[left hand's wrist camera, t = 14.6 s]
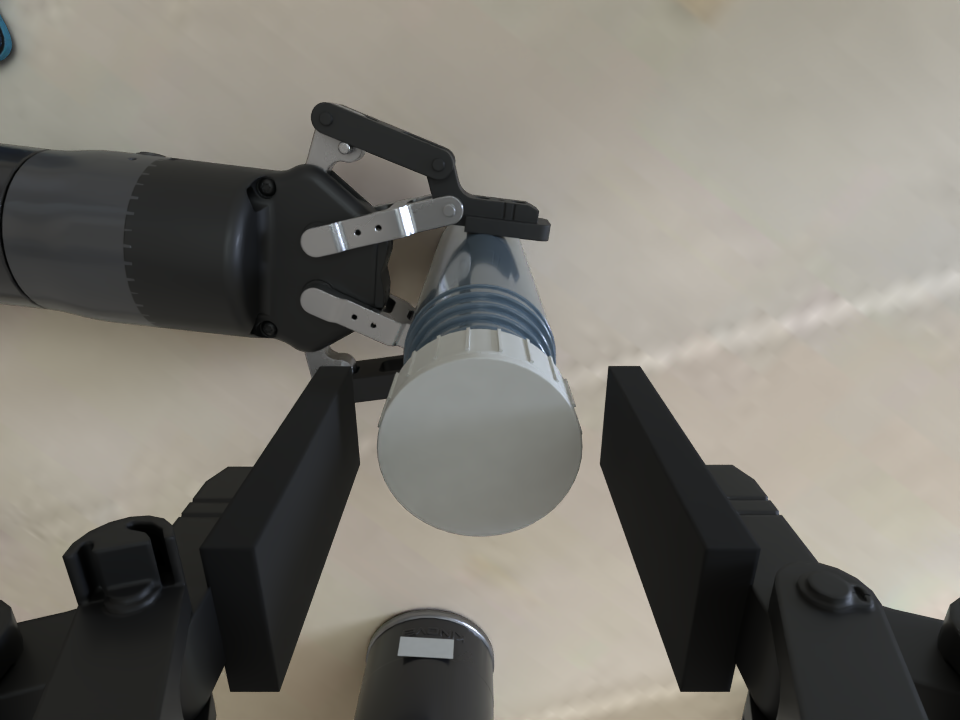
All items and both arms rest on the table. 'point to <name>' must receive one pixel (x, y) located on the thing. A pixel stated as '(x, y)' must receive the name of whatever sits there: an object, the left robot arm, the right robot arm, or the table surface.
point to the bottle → (479, 292)
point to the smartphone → (4, 40)
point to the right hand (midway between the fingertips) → (536, 287)
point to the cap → (479, 434)
